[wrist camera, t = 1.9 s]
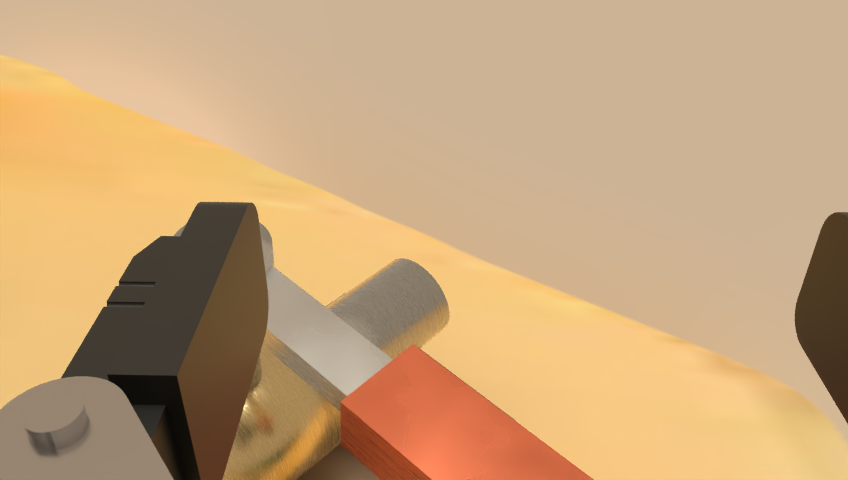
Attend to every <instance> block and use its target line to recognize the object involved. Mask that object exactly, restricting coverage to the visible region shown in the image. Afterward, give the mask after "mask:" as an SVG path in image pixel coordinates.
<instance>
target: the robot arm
mask: <svg viewBox="0 0 848 480" xmlns="http://www.w3.org/2000/svg"><path fill="white" fill-rule="evenodd" d="M268 309H269V299H268V288H267V280H266V272H265V265H264V257H263V249H262V241H261V234H260V226H259V219H258V213H257V210H256V207H255V205H254V204H253V203H239V202H199V203H198V204H197V206H196V207H195V209H194V211H193V213H192V215H191V217H190V219H189V220H188V222H187V224H186V226H185V228H184V230H183V232H182V234H181V236H161V237H159V238H158V239H157V240H155V241H154V242H153V243H151V244H150V245H149V246H147V247H146V248H145V249H143V250H142V251H141V252H139V253H138V254H137V255H135V256H134V257H133V259H132V260H131V262H130V264H129V265H128V267H127V269H126V270H125V272H124V274H123V275H122V277H121V279H120V280H119V286H116V287H115V289H114V290H113V292H112V294H111V295H110V297H109V299H108V300H107V307H103V309H102V310H101V312H100V314H99V315H98V317H97V319H96V320H95V322H94V324H93V325H92V327H91V329H90V330H89V332H88V334H87V335H86V337H85V339H84V341H83V342H82V344H81V346H80V347H79V349H78V351H77V352H76V354H75V356H74V357H73V359H72V361H71V362H70V364H69V366H68V367H67V369H66V371H65V372H64V374H63V376H62V377H61V379H57V380H53V381H50V382H47V383H44V384H41V385H38V386H36V387H34V388H32V389H29V390H27V391H26V392H24V393H22V394H20V395H19V396H17V397H16V398H14V399H13V400H11V401H10V402H9V403H7V404H6V405H5V406H4V407H3V408H2V409H1V410H0V480H222V479H223V476H224V473H225V469H226V466H227V463H228V459H229V456H230V452H231V449H232V446H233V442H234V439H235V436H236V432H237V429H238V425H239V422H240V419H241V415H242V412H243V409H244V405H245V402H246V398H247V395H248V392H249V388H250V385H251V382H252V378H253V375H254V371H255V368H256V365H257V361H258V358H259V355H260V351H261V348H262V345H263V341H264V338H265V334H266V329H267V323H268ZM795 327H796V333H797V337H798V340H799V342H800V344H801V346H802V348H803V350H804V351H805V353H806V355H807V356H808V358H809V360H810V361H811V363H812V365H813V366H814V368H815V370H816V371H817V373H818V375H819V377H820V378H821V380H822V381H823V383H824V385H825V387H826V388H827V390H828V392H829V393H830V395H831V396H832V398H833V400H834V401H835V403H836V405H837V407H838V408H839V410H840V412H841V413H842V415H843V417H844V418H845V420H846V422H847V423H848V213H847V212H837V213H833V214H831V215H830V216H829V217H828V218H827V219H826V220H825V222H824V224H823V226H822V229H821V231H820V234H819V237H818V240H817V243H816V246H815V249H814V252H813V255H812V258H811V261H810V264H809V267H808V270H807V273H806V276H805V279H804V282H803V285H802V288H801V291H800V293H799V296H798V299H797V303H796V309H795Z"/></svg>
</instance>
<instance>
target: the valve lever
mask: <svg viewBox="0 0 848 480" xmlns="http://www.w3.org/2000/svg"><path fill="white" fill-rule="evenodd" d="M185 226H186V225H185ZM185 226H184V227H182V228H181V229H180V230H179V231H178V232H177V233H176V234H175V235H174V236H181V234H182V232H183V230H184V228H185ZM259 226H260V234H261V241H262V249H263V257H264V265H265V272H266V280H267V288H268V299H269V309H268V323H267V329H266V334H265V338H264V341H263V346H264V347H265V348H267V349H268V350H269V351H270V352H271V353H272V354H274V355H275V356H276V357H277V358H278V359H279V360H281V361H282V362H283V363H284V364H285V365H286V366H288V367H289V368H290V369H291V370H292V371H293V372H295V373H296V374H297V375H298V376H299V377H300V378H302V379H303V380H304V381H305V382H306V383H307V384H309V385H310V386H311V387H312V388H313V389H314V390H315V391H317V392H318V393H319V394H320V395H321V396H322V397H324V398H325V399H326V400H327V401H328V402H329V403H331V404H332V405H333V406H334V407H335V408H336V409H338V410H339V411H340V418H341V445H342V446H343V447H344V448H345V449H346V450H347V451H349V452H350V453H351V454H352V455H353V456H354V457H355V458H356V459H358V460H359V461H360V462H361V463H362V464H363V465H364V466H365V467H367V468H368V469H369V470H370V471H371V472H372V473H373V474H374V475H376V476H377V477H378V478H379V479H380V480H593V479H592V478H591V477H589V476H588V475H587V474H585V473H584V472H583V471H581V470H580V469H579V468H577V467H576V466H575V465H573V464H572V463H571V462H569V461H568V460H567V459H565V458H564V457H563V456H561V455H560V454H559V453H557V452H556V451H555V450H553V449H552V448H551V447H549V446H548V445H547V444H545V443H544V442H543V441H541V440H540V439H539V438H537V437H536V436H535V435H533V434H532V433H531V432H529V431H528V430H527V429H525V428H524V427H523V426H521V425H520V424H519V423H517V422H516V421H515V420H513V419H512V418H511V417H509V416H508V415H507V414H505V413H504V412H503V411H501V410H500V409H499V408H497V407H496V406H495V405H493V404H492V403H491V402H489V401H488V400H487V399H485V398H484V397H483V396H481V395H480V394H479V393H477V392H476V391H475V390H473V389H472V388H471V387H469V386H468V385H467V384H465V383H464V382H463V381H462V380H460V379H459V378H458V377H456V376H455V375H454V374H452V373H451V372H450V371H448V370H447V369H446V368H444V367H443V366H442V365H440V364H439V363H438V362H436V361H435V360H434V359H432V358H431V357H430V356H428V355H427V354H426V353H424V352H423V351H422V350H420V349H419V348H418V347H416V346H415V345H414V344H412V345H411V346H410V347H408V348H407V349H406V350H405V351H403V352H402V353H401V354H400V355H398V356H397V357H396V358H395V359H392V358H390V357H389V356H388V355H386V354H385V353H384V352H383V351H381V350H380V349H379V348H377V347H376V346H375V345H374V344H372V343H371V342H370V341H368V340H367V339H366V338H365V337H363V336H362V335H361V334H359V333H358V332H357V331H356V330H354V329H353V328H352V327H350V326H349V325H348V324H347V323H345V322H344V321H343V320H341V319H340V318H339V317H338V316H336V315H335V314H334V313H332V312H331V311H330V310H329V309H327V308H326V307H325V306H323V305H322V304H321V303H320V302H318V301H317V300H316V299H314V298H313V297H312V296H311V295H309V294H308V293H307V292H305V291H304V290H303V289H301V288H300V287H299V286H298V285H296V284H295V283H294V282H292V281H291V280H290V279H289V278H287V277H286V276H285V275H283V274H282V273H281V272H280V271H278V270H277V269H276V268H274V258H273V247H272V238H271V236H270V233H269V232H268V230H267V229H266V228H265V227H264V226H263V225H262V224H261V223H259Z"/></svg>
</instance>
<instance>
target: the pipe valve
mask: <svg viewBox="0 0 848 480" xmlns="http://www.w3.org/2000/svg"><path fill="white" fill-rule="evenodd" d="M326 308H327V309H329V310H330V311H331V312H332V313H334V314H335V315H336V316H338V317H339V318H340V319H341V320H343V321H344V322H345V323H347V324H348V325H349V326H350V327H352V328H353V329H354V330H356V331H357V332H358V333H359V334H361V335H362V336H363V337H365V338H366V339H367V340H368V341H370V342H371V343H372V344H374V345H375V346H376V347H377V348H379V349H380V350H381V351H383V352H384V353H385V354H386V355H388V356H389V357H390V358H392V359H395V358H396V357H397V356H398V355H400V354H401V353H402V352H403V351H405V350H406V349H407V348H408V347H410V346H411V345H412V344H414V345H415V346H416V347H418V348H420V347H422V346H423V345H424V344H425V343H427V342H428V341H429V340H430V339H432V338H433V337H434V336H435V335H437V334H438V333H439V332H440V331H442V330H443V329H444V328H445V327H446V326H447V324H448V321H449V308H448V303H447V300H446V298H445V295H444V293H443V291H442V289H441V288H440V286H439V284H438V283H437V282H436V280H435V279H434V278H433V277H432V276H431V274H430V273H429V272H428V271H426V270H425V269H424V268H423V267H422V266H420V265H419V264H417V263H415V262H413V261H411V260H408V259H396V260H394V261H392V262H391V263H390V264H388V265H387V266H385V267H384V268H382V269H381V270H379V271H378V272H376V273H375V274H373V275H372V276H371V277H369V278H368V279H366V280H365V281H363V282H362V283H360V284H359V285H357V286H356V287H355V288H353V289H352V290H350V291H349V292H347V293H346V294H344V295H343V296H341V297H340V298H339V299H337V300H336V301H334V302H333V303H331V304H330V305H328V306H327V307H326ZM340 443H341V418H340V411H339V410H338V409H336V408H335V407H334V406H333V405H332V404H331V403H329V402H328V401H327V400H326V399H325V398H324V397H322V396H321V395H320V394H319V393H318V392H317V391H315V390H314V389H313V388H312V387H311V386H310V385H309V384H307V383H306V382H305V381H304V380H303V379H302V378H300V377H299V376H298V375H297V374H296V373H295V372H293V371H292V370H291V369H290V368H289V367H288V366H286V365H285V364H284V363H283V362H282V361H281V360H279V359H278V358H277V357H276V356H275V355H274V354H272V353H271V352H270V351H269V350H268V349H267V348H265V347H264V346H263V345H262V348H261V351H260V355H259V358H258V361H257V365H256V368H255V371H254V375H253V378H252V382H251V385H250V388H249V392H248V395H247V398H246V402H245V405H244V409H243V412H242V415H241V419H240V422H239V425H238V429H237V432H236V436H235V439H234V442H233V446H232V449H231V452H230V456H229V459H228V463H227V466H226V469H225V473H224V476H223V479H222V480H297V479H298V478H299V477H300V476H302V475H303V474H304V473H305V472H306V471H308V470H309V469H310V468H311V467H312V466H314V465H315V464H316V463H317V462H318V461H320V460H321V459H322V458H323V457H324V456H326V455H327V454H328V453H329V452H330V451H332V450H333V449H334V448H335V447H336V446H338V445H339V444H340Z"/></svg>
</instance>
